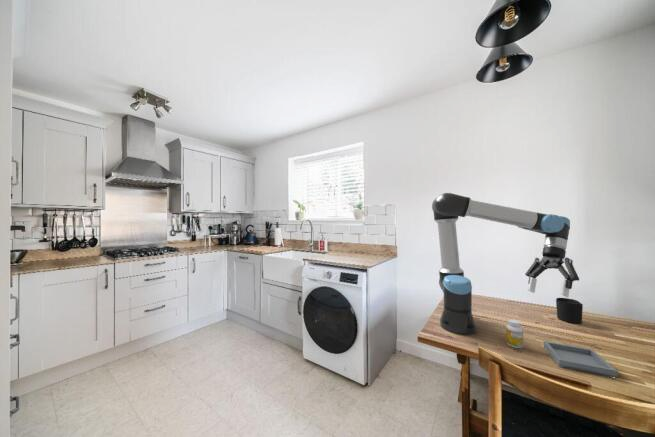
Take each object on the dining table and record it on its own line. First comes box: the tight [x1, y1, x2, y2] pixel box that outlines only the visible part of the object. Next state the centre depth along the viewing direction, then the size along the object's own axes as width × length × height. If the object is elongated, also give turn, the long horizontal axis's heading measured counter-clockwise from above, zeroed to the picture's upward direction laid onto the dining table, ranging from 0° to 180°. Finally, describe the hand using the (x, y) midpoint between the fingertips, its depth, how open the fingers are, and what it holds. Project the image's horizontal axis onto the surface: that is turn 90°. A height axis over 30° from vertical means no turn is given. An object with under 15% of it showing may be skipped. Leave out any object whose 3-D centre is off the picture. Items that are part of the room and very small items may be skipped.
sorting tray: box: [543, 340, 618, 379], centre depth 85 cm, size 14×14×2 cm
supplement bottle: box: [505, 318, 524, 349], centre depth 96 cm, size 5×5×10 cm
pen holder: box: [555, 297, 584, 325], centre depth 119 cm, size 9×9×10 cm
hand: (546, 293), depth 103 cm, fingers open, 13 cm apart
